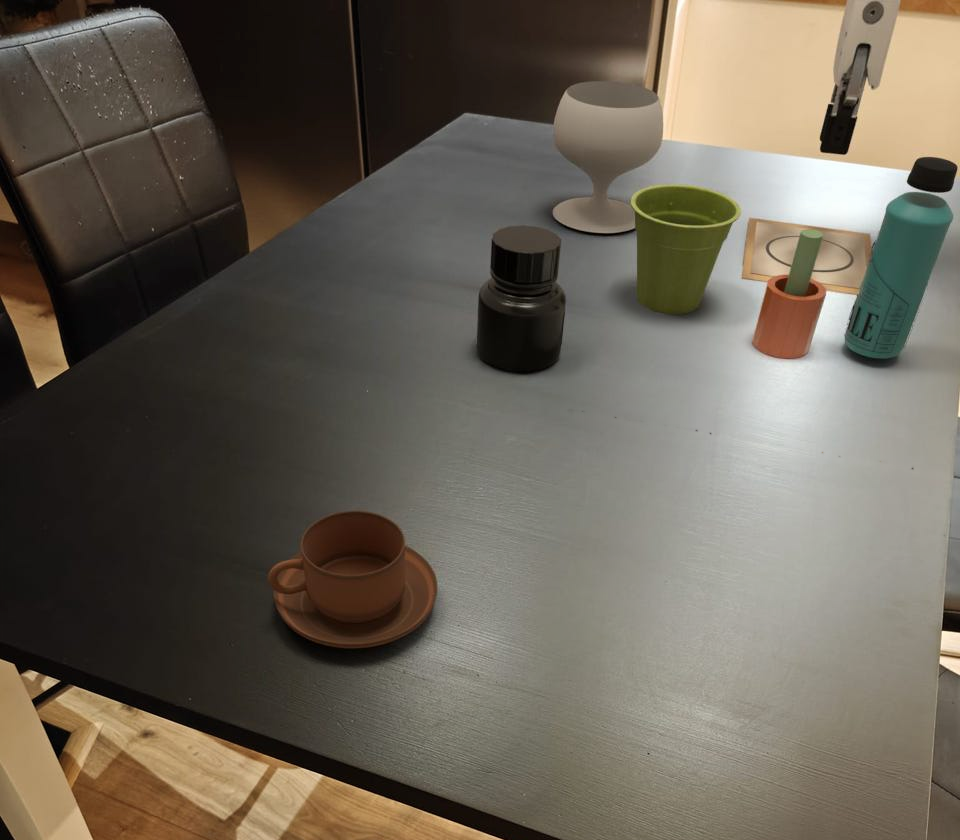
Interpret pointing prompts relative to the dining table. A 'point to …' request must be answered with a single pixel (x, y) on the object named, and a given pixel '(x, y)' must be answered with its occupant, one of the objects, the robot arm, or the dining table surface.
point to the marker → (803, 262)
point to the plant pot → (678, 243)
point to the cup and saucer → (354, 582)
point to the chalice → (605, 147)
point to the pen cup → (787, 319)
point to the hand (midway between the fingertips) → (833, 145)
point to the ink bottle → (522, 300)
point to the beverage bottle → (902, 262)
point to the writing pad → (834, 264)
